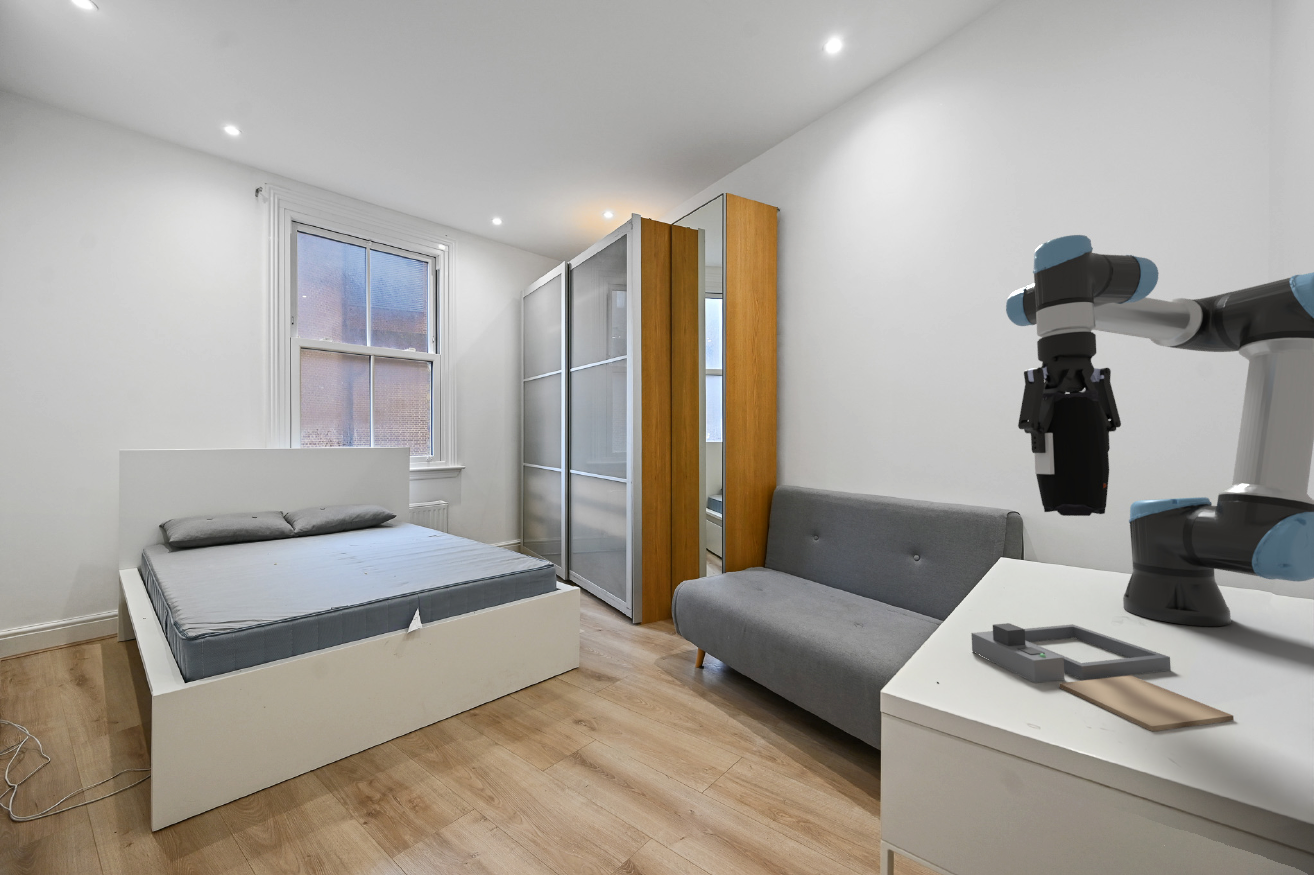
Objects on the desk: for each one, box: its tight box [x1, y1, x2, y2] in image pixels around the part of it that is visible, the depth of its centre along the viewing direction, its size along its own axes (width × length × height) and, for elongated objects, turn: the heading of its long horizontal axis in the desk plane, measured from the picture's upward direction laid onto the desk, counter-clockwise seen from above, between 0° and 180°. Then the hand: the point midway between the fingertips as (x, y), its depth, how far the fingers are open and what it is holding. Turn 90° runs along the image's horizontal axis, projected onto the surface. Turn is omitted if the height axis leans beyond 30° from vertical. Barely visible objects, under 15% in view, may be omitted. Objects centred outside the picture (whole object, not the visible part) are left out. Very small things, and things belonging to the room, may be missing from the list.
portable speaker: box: [1035, 390, 1110, 517], centre depth 85 cm, size 9×9×20 cm
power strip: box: [971, 622, 1065, 684], centre depth 82 cm, size 5×12×6 cm, turn 9°
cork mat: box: [1058, 675, 1234, 732], centre depth 69 cm, size 12×12×1 cm
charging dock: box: [1024, 624, 1172, 681], centre depth 85 cm, size 18×16×2 cm
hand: (1071, 473), depth 84 cm, fingers closed on portable speaker, 9 cm apart
